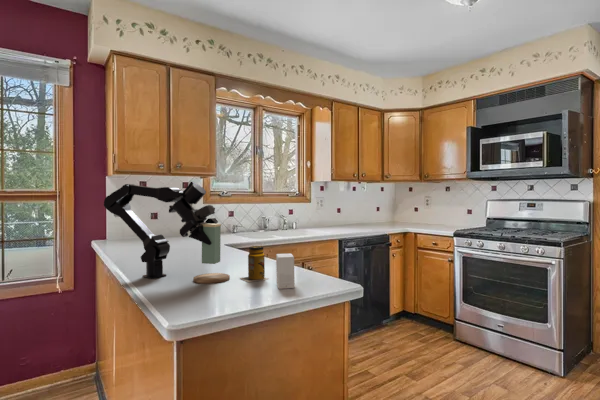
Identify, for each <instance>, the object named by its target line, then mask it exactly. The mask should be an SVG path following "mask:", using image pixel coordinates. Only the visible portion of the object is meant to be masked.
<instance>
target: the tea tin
mask: <svg viewBox="0 0 600 400" xmlns="http://www.w3.org/2000/svg"><path fill="white" fill-rule="evenodd" d="M202 225H203V231H204V232H205V234H206V235H207V237H208V238H209V239H210V241H211V243H212V244H211V245H208V244H205V243H203V242H201V264H204V265H205V264H209V265H216V264H217V263H221V227H222V224H221V223H217V224H209V223H208V224H202Z"/></svg>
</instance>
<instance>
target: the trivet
mask: <svg viewBox="0 0 600 400" xmlns="http://www.w3.org/2000/svg"><path fill="white" fill-rule="evenodd" d="M230 279H231V277H230V275H229V274H228V273H223V272H209V273H202V274H198V275H195V276H193V283H196V284H203V285H205V284H206V285H207V284H209V285H212V284H213V285H214V284H221V283H224V282H228V281H229V280H230Z"/></svg>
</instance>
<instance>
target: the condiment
mask: <svg viewBox="0 0 600 400" xmlns="http://www.w3.org/2000/svg"><path fill="white" fill-rule="evenodd" d="M247 264H248V265H247V266H248V267H247V270H248V271H247V272H248V273H247V274H248V276H246V277H244V276H243V277H240V280H243V282H244V281H245V282H246V283H251V282H259V281H265V280H269V278H267V277H265V276H266V275H265V274H266V273H265V267H266V266H265V253H264V246H263V245H262V246H261V245H252V246H249V248H248V255H247Z"/></svg>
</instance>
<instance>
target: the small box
mask: <svg viewBox="0 0 600 400" xmlns="http://www.w3.org/2000/svg"><path fill="white" fill-rule="evenodd" d="M275 259H276V262H275V263H276V264H275V265H276V266H275V268H276V272H275V273H276V285H277V289H279V290H283V289H295V286H296V285H295V282H296V281H295V256H294V255H293V254H292V253H276V254H275Z"/></svg>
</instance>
